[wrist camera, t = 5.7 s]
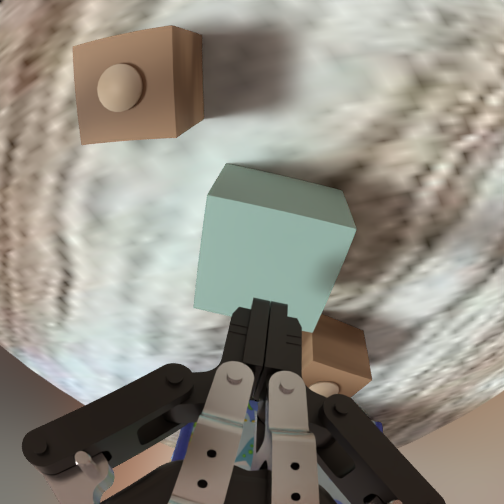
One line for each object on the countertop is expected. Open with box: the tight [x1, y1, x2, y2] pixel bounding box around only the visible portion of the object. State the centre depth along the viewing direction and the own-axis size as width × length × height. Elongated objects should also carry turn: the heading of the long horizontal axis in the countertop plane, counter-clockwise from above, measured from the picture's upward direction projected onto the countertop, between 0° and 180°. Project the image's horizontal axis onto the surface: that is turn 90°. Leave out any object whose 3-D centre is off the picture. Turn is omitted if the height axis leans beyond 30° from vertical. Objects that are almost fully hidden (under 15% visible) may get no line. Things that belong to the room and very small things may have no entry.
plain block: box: [194, 164, 357, 333], centre depth 19 cm, size 7×7×5 cm
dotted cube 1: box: [302, 314, 372, 398], centre depth 23 cm, size 5×5×5 cm
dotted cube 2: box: [73, 25, 204, 145], centre depth 14 cm, size 5×5×5 cm
